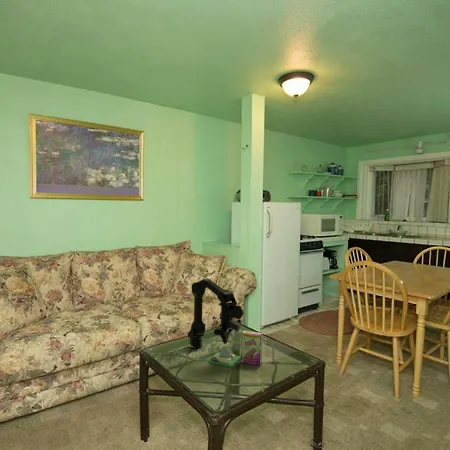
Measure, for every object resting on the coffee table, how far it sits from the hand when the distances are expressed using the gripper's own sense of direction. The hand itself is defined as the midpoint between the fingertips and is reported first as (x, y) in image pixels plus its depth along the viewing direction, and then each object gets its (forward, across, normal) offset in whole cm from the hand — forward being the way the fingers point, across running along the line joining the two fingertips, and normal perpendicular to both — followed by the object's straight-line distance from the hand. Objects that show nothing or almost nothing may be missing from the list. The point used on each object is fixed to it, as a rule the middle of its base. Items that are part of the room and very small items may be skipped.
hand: (225, 343), depth 173 cm
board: (+10, +1, +1) cm, 10 cm away
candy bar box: (+10, +5, -13) cm, 18 cm away
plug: (+9, 0, 0) cm, 9 cm away
